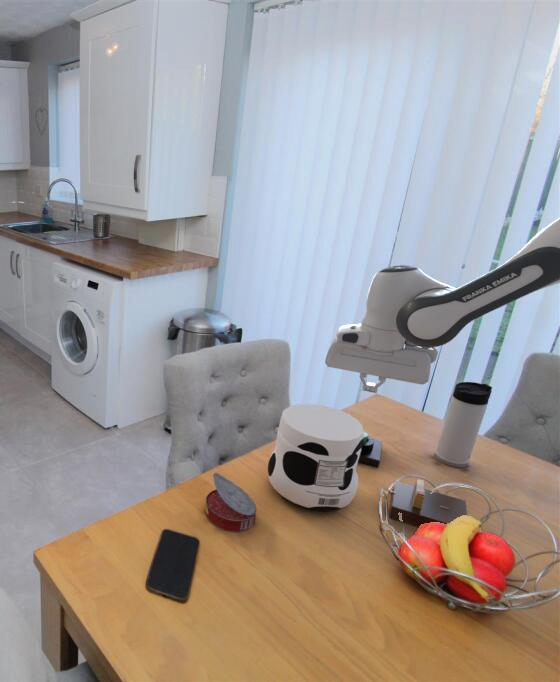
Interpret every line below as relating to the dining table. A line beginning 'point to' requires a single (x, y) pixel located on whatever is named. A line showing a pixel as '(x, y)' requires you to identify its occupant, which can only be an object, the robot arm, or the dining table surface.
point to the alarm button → (365, 437)
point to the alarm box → (371, 452)
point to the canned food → (229, 506)
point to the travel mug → (462, 423)
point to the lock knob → (418, 493)
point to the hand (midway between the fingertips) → (369, 390)
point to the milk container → (316, 457)
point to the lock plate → (424, 506)
